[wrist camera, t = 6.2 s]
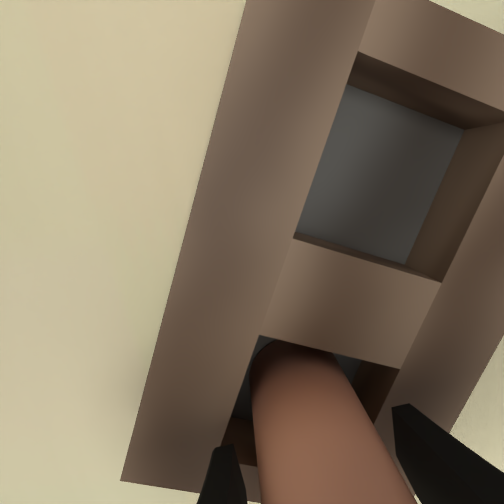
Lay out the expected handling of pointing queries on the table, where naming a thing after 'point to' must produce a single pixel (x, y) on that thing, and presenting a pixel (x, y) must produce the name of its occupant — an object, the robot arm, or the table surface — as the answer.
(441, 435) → the robot arm
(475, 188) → the peg block
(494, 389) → the table surface
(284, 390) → the pin
